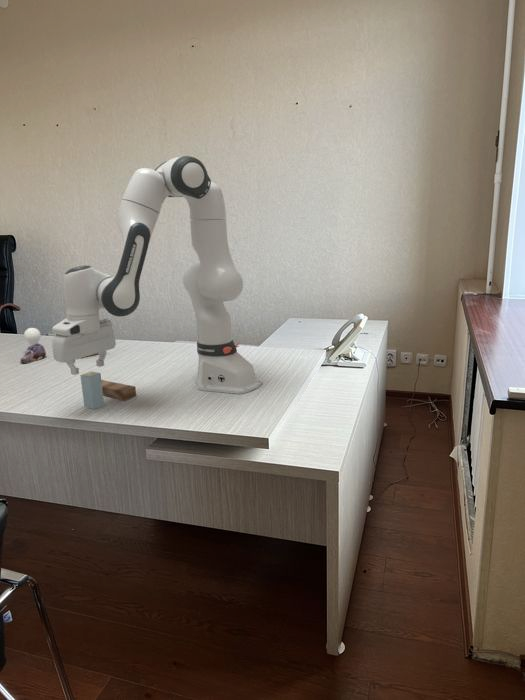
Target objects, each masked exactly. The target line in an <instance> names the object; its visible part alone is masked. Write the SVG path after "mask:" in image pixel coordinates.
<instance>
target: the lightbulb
mask: <svg viewBox="0 0 525 700" xmlns="http://www.w3.org/2000/svg"><path fill="white" fill-rule="evenodd" d="M41 337H42V335H41V331H40V330H39V329H38V328H35V327H29V328H27V329H25V331H24V333H23V338H24V340H25V341H26V342H27V343H28V347H29V346H31V345H35V344H39V342H40V340H41Z"/></svg>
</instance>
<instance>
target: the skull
mask: <svg viewBox="0 0 525 700" xmlns="http://www.w3.org/2000/svg"><path fill="white" fill-rule="evenodd" d="M46 356H47V352H46V349H45V346H44V345H43V344H41V343H38V344H35V345H31V346H29V345H28V346H27V348H26V352H25V354H24V355H23V356H22V357H21V358H20V361H19V363H20V364H22V363H23V364H24V363H26V364H27V365H28V363H30V364H31V363H33V362H37V361H40V360H44V359H45V358H46Z"/></svg>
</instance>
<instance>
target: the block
mask: <svg viewBox="0 0 525 700" xmlns="http://www.w3.org/2000/svg"><path fill="white" fill-rule="evenodd" d="M101 380H102V375H101V373H100V372H99V371H98V372H96V371H92V370H91V371H88V372H85V373H82V374H80V382H81V391H82V398H83V400H82V401H83V406H84V407H83V408H86V407H87V408H86V409H90V408H91V409H90V410H95V409H98V408H100V407H103V406H105V401H104V396H103V391H102V382H101Z"/></svg>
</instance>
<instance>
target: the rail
mask: <svg viewBox="0 0 525 700" xmlns="http://www.w3.org/2000/svg"><path fill="white" fill-rule="evenodd" d="M101 382H102V391H103V397H107V398H111V399H114V400H115V399H116V400H119V401H120V400H121V401H123V402H124V401H125V402H126V401H127V400H129V399H132V398H135V397H136V396H137V390H136V389H137V388H136V386H134V385H129V384H125V383H120V382H119V383H118V382H115V381H111V380H106V379H105V380H103V379H101Z"/></svg>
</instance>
